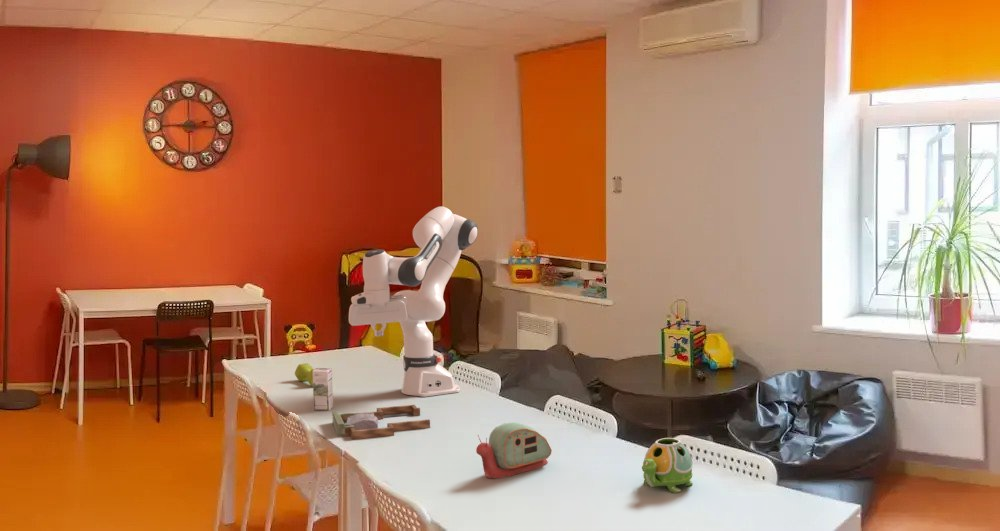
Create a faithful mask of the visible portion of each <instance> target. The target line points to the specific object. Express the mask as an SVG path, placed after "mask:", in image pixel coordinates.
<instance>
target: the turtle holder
mask: <svg viewBox="0 0 1000 531" xmlns="http://www.w3.org/2000/svg"><path fill="white" fill-rule="evenodd" d="M693 466H694V465H693V458H692V455H691V454H690V451H689V450H688V448H687V447H686V445H684V444H683V442H682V441H681V440H680V439H677V438H673V437H664V438H660V439H656V441H655V442H654V443H652V445H651V446H650V447H649V448H648V449H647V451H646V452H645V456H644V460H643V462H642V465H641V470H642V472H643V484H644V485H645V486H650V487H651V488H652V487H653V488H654V487H667V490H669V492H671V493H675V494H677V493H680V492H681V491H682V490H681V488H678V487H677V486H679V485H682V484H684V486H685V487H690V486H693V481H691V479H692V478H693Z"/></svg>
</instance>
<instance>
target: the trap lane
mask: <svg viewBox="0 0 1000 531" xmlns="http://www.w3.org/2000/svg"><path fill="white" fill-rule="evenodd" d="M362 413H363V414H371V413H374V416H376V417H377V419H378V420H383V419H385V418H387V419H388V418H396V417H408V416H414V417H416V416H417V417H419V416H421V408H420V407H417V406H416V404H407V405H406V404H405V405H397V406H394V405H393V406H384V407H382V406H381V407H376V411H369V412H367V411H365V412H358V411H357V412H356V411H354V412H344V413H343V412H342V413H340V412H339V410H332V412H331V414H332V417H331V418H332V425H333V427H334V429H335V432H336V433H337V436H338V437H348V436H350V438H351V439H352V440H360V439H370V438H380V437H381V438H382V437H390V436H391V437H392V436H395V432H401V431H409V430H410V431H411V430H420V429H431V420H430V419H420V420H419V419H418V420H410V421H398V422H388V423H386V424H387V426H386V427H378V428H375V429H365V430H355V429H354V425H352V426H347V425H345V423H347V418H348V417H350V416H353V415H355V414H362Z"/></svg>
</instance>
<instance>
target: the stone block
mask: <svg viewBox="0 0 1000 531" xmlns="http://www.w3.org/2000/svg"><path fill="white" fill-rule="evenodd" d="M361 413H362V414H355V415H353V416H350V417H348V418H347V422H346V426H352V425H354V429H355V430H365V429H375V428H379V419H377V417H376V416H374V413H371V414H363V413H364V412H361Z"/></svg>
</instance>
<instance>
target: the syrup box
mask: <svg viewBox="0 0 1000 531" xmlns="http://www.w3.org/2000/svg"><path fill="white" fill-rule="evenodd" d="M313 369H314V370H313V372H312V373H313V387H312V395H313V397H312V398H313V410H314V411H330V410H331V409H332V408H333V407H334V399H333V397H334V395H333V369H332V368H331V367H316V368H313Z"/></svg>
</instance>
